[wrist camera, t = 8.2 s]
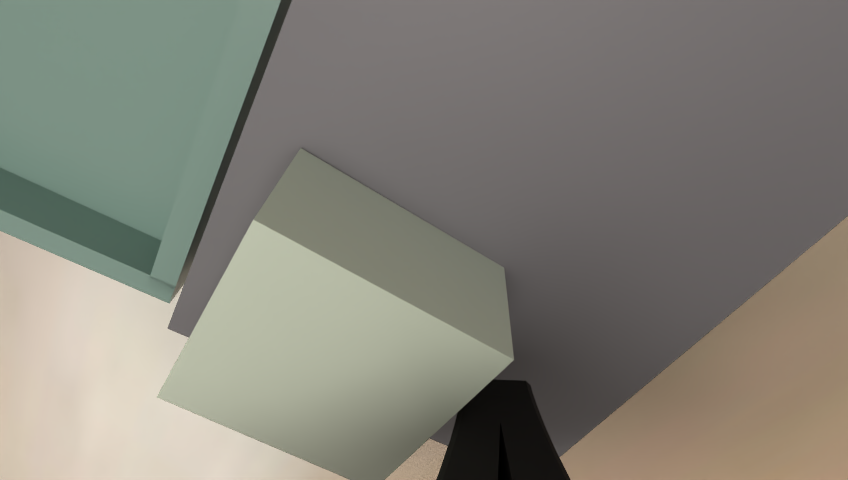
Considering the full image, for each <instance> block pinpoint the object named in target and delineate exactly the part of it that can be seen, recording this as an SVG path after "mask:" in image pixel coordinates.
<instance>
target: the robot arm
mask: <svg viewBox="0 0 848 480" xmlns="http://www.w3.org/2000/svg"><path fill="white" fill-rule="evenodd" d="M437 480H570V478H569V476H568V474H567V472H566V470H565V468H564V466H563V464H562V462H561V460H560V458H559V456H558V454H557V452H556V449H555V447H554V445H553V443H552V441H551V438H550V436H549V434H548V431H547V429H546V427H545V424H544V422H543V419H542V417H541V414H540V412H539V409H538V407H537V404H536V401H535V398H534V395H533V392H532V388H531V385H530V384H529V383H528V382H527V381H522V380H496V379H493V380H492V381H491V382H490V383H489V384H487V385H486V386H485V387H484V388H483V389H482V390H481V391H480V392H479V393H478V394H477V395H476V396H474V397H473V398H472V399H471V400H470V401H469V402H468V403H467V404H466V405H465V406H464V407H463V408H462V409H460V410H459V411H458V412H457V416H456V420H455V424H454V428H453V431H452V435H451V439H450V442H449V445H448V448H447V451H446V454H445V457H444V460H443V463H442V466H441V469H440V472H439V474H438V477H437Z"/></svg>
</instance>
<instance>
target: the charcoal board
mask: <svg viewBox="0 0 848 480" xmlns="http://www.w3.org/2000/svg"><path fill="white" fill-rule="evenodd" d="M300 148H302V149H304V150H305V151H307V152H309V153H310V154H312V155H314V156H315V157H317V158H319V159H321V160H322V161H324V162H326V163H327V164H329V165H331V166H332V167H334V168H336V169H338V170H339V171H341V172H343V173H344V174H346V175H348V176H349V177H351V178H353V179H354V180H356V181H358V182H360V183H361V184H363V185H365V186H366V187H368V188H370V189H371V190H373V191H375V192H377V193H378V194H380V195H382V196H383V197H385V198H387V199H388V200H390V201H392V202H394V203H395V204H397V205H399V206H400V207H402V208H404V209H405V210H407V211H409V212H410V213H412V214H414V215H416V216H417V217H419V218H421V219H422V220H424V221H426V222H427V223H429V224H431V225H433V226H434V227H436V228H438V229H439V230H441V231H443V232H444V233H446V234H448V235H450V236H451V237H453V238H455V239H456V240H458V241H460V242H461V243H463V244H465V245H466V246H468V247H470V248H472V249H473V250H475V251H477V252H478V253H480V254H482V255H483V256H485V257H487V258H489V259H490V260H492V261H494V262H495V263H497V264H499V265H500V266H502V267H504V271H505V280H506V289H507V299H508V308H509V317H510V327H511V336H512V345H513V355H514V360H513V361H512V362H511V363H510V364H509V365H508V366H507V367H506V368H505V369H504V370H503V371H502V372H500V373H499V374H498V375H497V376H496V377H495V378H494V379H496V380H522V381H527V382H528V383H529V384H530V385H531V388H532V392H533V395H534V398H535V401H536V404H537V407H538V409H539V412H540V414H541V417H542V419H543V422H544V424H545V427H546V429H547V431H548V434H549V436H550V438H551V441H552V443H553V445H554V447H555V449H556V452H557V454H558V456H559V457H560V456H561V455H563V454H564V453H565V452H566V451H567V450H569V449H570V448H571V447H572V446H573V445H575V444H576V443H577V442H578V441H579V440H581V439H582V438H583V437H584V436H585V435H587V434H588V433H589V432H590V431H591V430H593V429H594V428H595V427H596V426H597V425H599V424H600V423H601V422H602V421H603V420H605V419H606V418H607V417H608V416H609V415H610V414H612V413H613V412H614V411H615V410H616V409H618V408H619V407H620V406H621V405H622V404H624V403H625V402H626V401H627V400H628V399H630V398H631V397H632V396H633V395H634V394H636V393H637V392H638V391H639V390H640V389H642V388H643V387H644V386H645V385H646V384H648V383H649V382H650V381H651V380H652V379H653V378H655V377H656V376H657V375H658V374H659V373H661V372H662V371H663V370H664V369H665V368H667V367H668V366H669V365H670V364H671V363H673V362H674V361H675V360H676V359H677V358H679V357H680V356H681V355H682V354H683V353H685V352H686V351H687V350H688V349H689V348H691V347H692V346H693V345H694V344H695V343H697V342H698V341H699V340H700V339H701V338H702V337H704V336H705V335H706V334H707V333H708V332H710V331H711V330H712V329H713V328H714V327H716V326H717V325H718V324H719V323H720V322H722V321H723V320H724V319H725V318H726V317H728V316H729V315H730V314H731V313H732V312H734V311H735V310H736V309H737V308H738V307H740V306H741V305H742V304H743V303H744V302H746V301H747V300H748V299H749V298H750V297H751V296H753V295H754V294H755V293H756V292H757V291H759V290H760V289H761V288H762V287H763V286H765V285H766V284H767V283H768V282H769V281H771V280H772V279H773V278H774V277H775V276H777V275H778V274H779V273H780V272H781V271H783V270H784V269H785V268H786V267H787V266H789V265H790V264H791V263H792V262H793V261H795V260H796V259H797V258H798V257H799V256H800V255H802V254H803V253H804V252H805V251H806V250H808V249H809V248H810V247H811V246H812V245H814V244H815V243H816V242H817V241H818V240H820V239H821V238H822V237H823V236H824V235H826V234H827V233H828V232H829V231H830V230H832V229H833V228H834V227H835V226H836V225H838V224H839V223H840V222H841V221H842V220H843V219H845V218H846V217H847V216H848V0H292V2H291V4H290V7H289V9H288V12H287V15H286V17H285V20H284V23H283V25H282V28H281V31H280V33H279V36H278V38H277V41H276V44H275V46H274V49H273V52H272V54H271V57H270V60H269V62H268V65H267V67H266V70H265V73H264V75H263V78H262V81H261V83H260V86H259V89H258V91H257V94H256V96H255V99H254V102H253V104H252V107H251V110H250V112H249V115H248V118H247V120H246V123H245V125H244V128H243V131H242V133H241V136H240V139H239V141H238V144H237V147H236V149H235V152H234V154H233V157H232V160H231V162H230V165H229V168H228V170H227V173H226V176H225V178H224V181H223V183H222V186H221V189H220V191H219V194H218V197H217V199H216V202H215V205H214V207H213V210H212V212H211V215H210V218H209V220H208V223H207V226H206V228H205V231H204V234H203V236H202V239H201V241H200V244H199V247H198V249H197V252H196V255H195V257H194V260H193V263H192V265H191V268H190V270H189V273H188V276H187V278H186V281H185V284H184V286H183V289H182V292H181V294H180V297H179V299H178V302H177V305H176V307H175V310H174V313H173V315H172V318H171V321H170V323H169V326H168V329H170V330H172V331H175V332H177V333H179V334H182V335H184V336H187V337H190V335H191V333H192V332H193V330H194V328H195V326H196V324H197V322H198V320H199V319H200V317H201V315H202V313H203V311H204V309H205V308H206V306H207V304H208V302H209V300H210V298H211V297H212V295H213V293H214V291H215V289H216V287H217V286H218V284H219V282H220V280H221V278H222V276H223V274H224V273H225V271H226V269H227V267H228V265H229V263H230V262H231V260H232V258H233V256H234V254H235V252H236V251H237V249H238V247H239V245H240V243H241V241H242V239H243V238H244V236H245V234H246V232H247V230H248V228H249V227H250V225H251V223H252V221H253V219H254V218H255V216H256V215H257V213H258V212H259V210H260V209H261V207H262V206H263V204H264V203H265V201H266V200H267V198H268V197H269V195H270V194H271V192H272V191H273V189H274V188H275V186H276V185H277V183H278V182H279V180H280V179H281V177H282V176H283V174H284V172H285V171H286V169H287V168H288V166H289V165H290V163H291V162H292V160H293V159H294V157H295V156H296V154H297V153H298V151H299V150H300ZM456 416H457V413H456V414H455V415H454V416H453V417H452V418H451V419H450V420H449V421H447V422H446V423H445V424H444V425H443V426H442V427H441V428H440V429H439V430H438V431H437V432H436V433H435V434H433V435H432V436H431V437H430V439H432V440H435V441H437V442H439V443H442V444H444V445H447V446H448V445H449V442H450V439H451V435H452V431H453V428H454V424H455V420H456Z"/></svg>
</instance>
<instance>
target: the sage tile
mask: <svg viewBox="0 0 848 480" xmlns="http://www.w3.org/2000/svg"><path fill="white" fill-rule="evenodd" d="M513 360H514V355H513V345H512V336H511V327H510V317H509V308H508V299H507V289H506V280H505V271H504V267H502V266H500V265H499V264H497V263H495V262H494V261H492V260H490V259H489V258H487V257H485V256H483V255H482V254H480V253H478V252H477V251H475V250H473V249H472V248H470V247H468V246H466V245H465V244H463V243H461V242H460V241H458V240H456V239H455V238H453V237H451V236H450V235H448V234H446V233H444V232H443V231H441V230H439V229H438V228H436V227H434V226H433V225H431V224H429V223H427V222H426V221H424V220H422V219H421V218H419V217H417V216H416V215H414V214H412V213H410V212H409V211H407V210H405V209H404V208H402V207H400V206H399V205H397V204H395V203H394V202H392V201H390V200H388V199H387V198H385V197H383V196H382V195H380V194H378V193H377V192H375V191H373V190H371V189H370V188H368V187H366V186H365V185H363V184H361V183H360V182H358V181H356V180H354V179H353V178H351V177H349V176H348V175H346V174H344V173H343V172H341V171H339V170H338V169H336V168H334V167H332V166H331V165H329V164H327V163H326V162H324V161H322V160H321V159H319V158H317V157H315V156H314V155H312V154H310V153H309V152H307V151H305V150H304V149H302V148H300V150H299V151H298V153H297V154H296V156H295V157H294V159H293V160H292V162H291V163H290V165H289V166H288V168H287V169H286V171H285V172H284V174H283V176H282V177H281V179H280V180H279V182H278V183H277V185H276V186H275V188H274V189H273V191H272V192H271V194H270V195H269V197H268V198H267V200H266V201H265V203H264V204H263V206H262V207H261V209H260V210H259V212H258V213H257V215H256V216H255V218H254V219H253V221H252V223H251V225H250V227H249V228H248V230H247V232H246V234H245V236H244V238H243V239H242V241H241V243H240V245H239V247H238V249H237V251H236V252H235V254H234V256H233V258H232V260H231V262H230V263H229V265H228V267H227V269H226V271H225V273H224V274H223V276H222V278H221V280H220V282H219V284H218V286H217V287H216V289H215V291H214V293H213V295H212V297H211V298H210V300H209V302H208V304H207V306H206V308H205V309H204V311H203V313H202V315H201V317H200V319H199V320H198V322H197V324H196V326H195V328H194V330H193V332H192V333H191V335H190V337H189V339H188V341H187V343H186V344H185V346H184V348H183V350H182V352H181V354H180V355H179V357H178V359H177V361H176V363H175V365H174V366H173V368H172V370H171V372H170V374H169V376H168V378H167V379H166V381H165V383H164V385H163V387H162V389H161V390H160V392H159V394H158V396H157V398H160V399H162V400H164V401H167V402H169V403H171V404H174V405H176V406H178V407H181V408H183V409H186V410H188V411H190V412H193V413H195V414H197V415H200V416H202V417H204V418H207V419H209V420H211V421H214V422H216V423H218V424H221V425H223V426H225V427H228V428H230V429H232V430H235V431H237V432H239V433H242V434H244V435H246V436H249V437H251V438H254V439H256V440H258V441H261V442H263V443H265V444H268V445H270V446H272V447H275V448H277V449H279V450H282V451H284V452H286V453H289V454H291V455H293V456H296V457H298V458H300V459H303V460H305V461H307V462H310V463H312V464H314V465H317V466H319V467H322V468H324V469H326V470H329V471H331V472H333V473H336V474H338V475H340V476H343V477H345V478H347V479H350V480H385V479H386V478H387V477H388V476H389V475H390V474H391V473H392V472H393V471H395V470H396V469H397V468H398V467H399V466H400V465H401V464H402V463H403V462H404V461H405V460H406V459H408V458H409V457H410V456H411V455H412V454H413V453H414V452H415V451H416V450H417V449H418V448H419V447H420V446H422V445H423V444H424V443H425V442H426V441H427V440H428V439H429V438H430V437H431V436H432V435H433V434H435V433H436V432H437V431H438V430H439V429H440V428H441V427H442V426H443V425H444V424H445V423H446V422H447V421H449V420H450V419H451V418H452V417H453V416H454V415H455V414H456V413H457V412H458V411H459V410H460V409H462V408H463V407H464V406H465V405H466V404H467V403H468V402H469V401H470V400H471V399H472V398H473V397H474V396H476V395H477V394H478V393H479V392H480V391H481V390H482V389H483V388H484V387H485V386H486V385H487V384H489V383H490V382H491V381H492V380H493V379H494V378H495V377H496V376H497V375H498V374H499V373H500V372H502V371H503V370H504V369H505V368H506V367H507V366H508V365H509V364H510V363H511V362H512V361H513Z"/></svg>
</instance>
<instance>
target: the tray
mask: <svg viewBox="0 0 848 480" xmlns="http://www.w3.org/2000/svg"><path fill="white" fill-rule="evenodd" d="M291 2H292V0H0V231H2V232H4V233H7V234H9V235H11V236H14V237H16V238H18V239H21V240H23V241H25V242H28V243H30V244H32V245H35V246H37V247H39V248H42V249H44V250H46V251H49V252H51V253H53V254H56V255H58V256H60V257H63V258H65V259H67V260H70V261H72V262H74V263H76V264H79V265H81V266H83V267H86V268H88V269H90V270H93V271H95V272H97V273H100V274H102V275H104V276H107V277H109V278H111V279H114V280H116V281H118V282H121V283H123V284H125V285H128V286H130V287H132V288H135V289H137V290H139V291H142V292H144V293H146V294H149V295H151V296H153V297H156V298H158V299H160V300H163V301H165V302H167V303H170V302H171V301H172V299H173V298H174V297H175V295H176V294H177V293H178V291H179V290H180V289H181V287H182V286H183V285H184V283H185V281H186V278H187V276H188V273H189V270H190V268H191V265H192V263H193V260H194V257H195V255H196V252H197V249H198V247H199V244H200V241H201V239H202V236H203V234H204V231H205V228H206V226H207V223H208V220H209V218H210V215H211V212H212V210H213V207H214V205H215V202H216V199H217V197H218V194H219V191H220V189H221V186H222V183H223V181H224V178H225V176H226V173H227V170H228V168H229V165H230V162H231V160H232V157H233V154H234V152H235V149H236V147H237V144H238V141H239V139H240V136H241V133H242V131H243V128H244V125H245V123H246V120H247V118H248V115H249V112H250V110H251V107H252V104H253V102H254V99H255V96H256V94H257V91H258V89H259V86H260V83H261V81H262V78H263V75H264V73H265V70H266V67H267V65H268V62H269V60H270V57H271V54H272V52H273V49H274V46H275V44H276V41H277V38H278V36H279V33H280V31H281V28H282V25H283V23H284V20H285V17H286V15H287V12H288V9H289V7H290V4H291Z"/></svg>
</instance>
